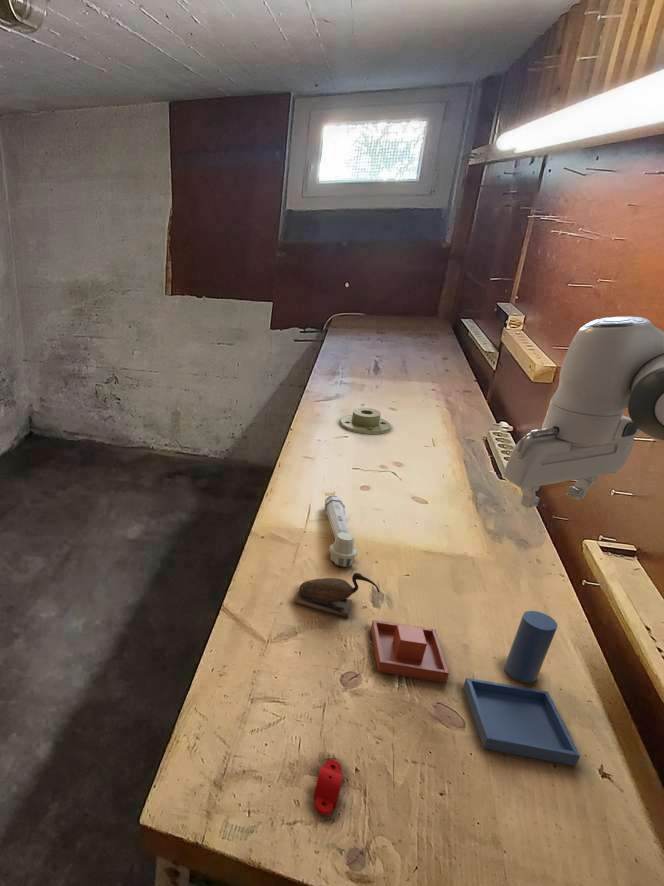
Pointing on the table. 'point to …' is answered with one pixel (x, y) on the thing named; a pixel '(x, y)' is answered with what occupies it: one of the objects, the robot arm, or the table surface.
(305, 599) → the figurine
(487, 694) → the blue tray
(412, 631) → the terracotta block
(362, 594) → the table surface
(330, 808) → the pipe clamp
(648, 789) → the table surface
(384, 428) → the flange
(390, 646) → the terracotta tray
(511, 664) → the blue canister
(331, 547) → the light grey long piece
